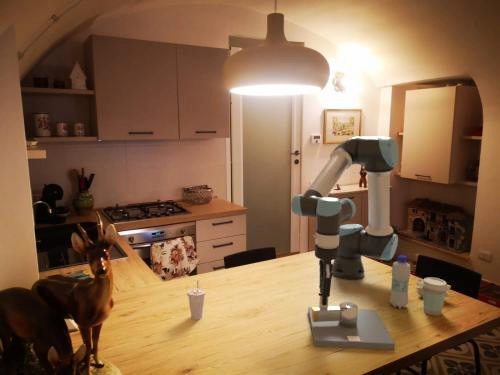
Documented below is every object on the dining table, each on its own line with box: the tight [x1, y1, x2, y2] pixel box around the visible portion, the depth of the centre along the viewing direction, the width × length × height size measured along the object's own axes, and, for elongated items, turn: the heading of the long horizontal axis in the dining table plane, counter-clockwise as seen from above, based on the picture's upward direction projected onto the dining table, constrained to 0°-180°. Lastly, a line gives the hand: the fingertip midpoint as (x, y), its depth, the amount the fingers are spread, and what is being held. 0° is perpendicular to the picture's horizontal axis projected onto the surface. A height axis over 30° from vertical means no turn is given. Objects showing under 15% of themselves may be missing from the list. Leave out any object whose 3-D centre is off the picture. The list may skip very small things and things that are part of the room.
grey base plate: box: [307, 306, 396, 351], centre depth 125 cm, size 22×24×2 cm
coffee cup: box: [422, 276, 448, 317], centre depth 137 cm, size 8×8×12 cm
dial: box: [311, 301, 359, 328], centre depth 124 cm, size 15×6×6 cm, turn 96°
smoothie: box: [186, 279, 206, 321], centre depth 131 cm, size 6×6×14 cm
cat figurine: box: [415, 278, 452, 298], centre depth 150 cm, size 8×7×12 cm
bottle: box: [389, 254, 412, 309], centre depth 141 cm, size 7×7×20 cm
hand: (323, 312), depth 125 cm, fingers closed
